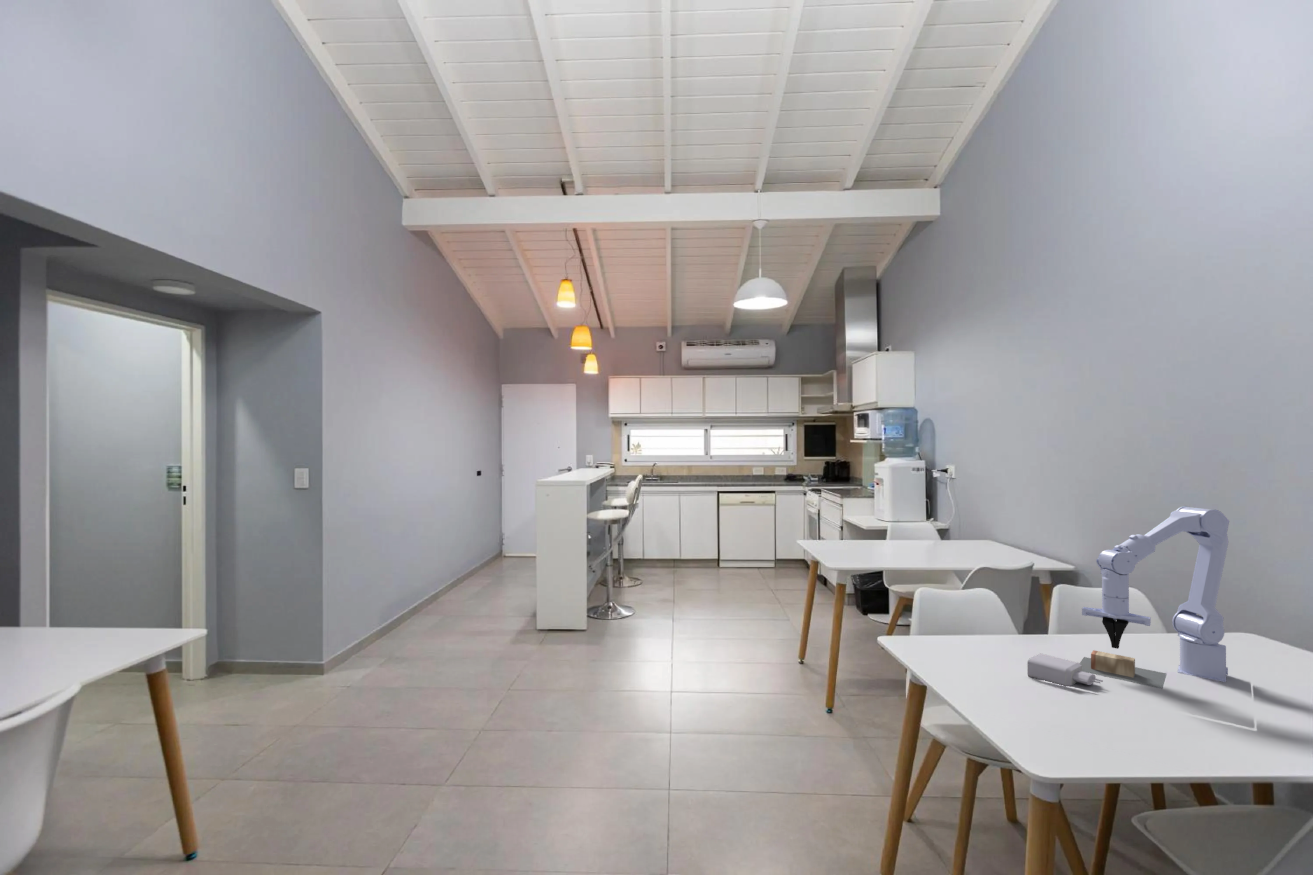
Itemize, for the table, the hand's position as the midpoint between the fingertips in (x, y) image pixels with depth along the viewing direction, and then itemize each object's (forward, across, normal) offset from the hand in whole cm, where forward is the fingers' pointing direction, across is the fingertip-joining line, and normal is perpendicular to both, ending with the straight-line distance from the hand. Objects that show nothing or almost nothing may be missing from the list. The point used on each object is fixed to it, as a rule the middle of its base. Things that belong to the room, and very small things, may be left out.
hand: (1115, 647), depth 162 cm
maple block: (+4, +4, 0) cm, 6 cm away
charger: (+7, -8, -16) cm, 19 cm away
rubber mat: (+7, +1, +1) cm, 7 cm away
